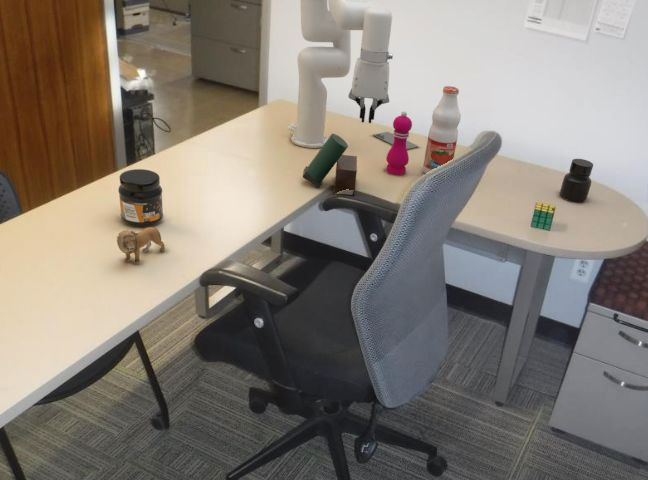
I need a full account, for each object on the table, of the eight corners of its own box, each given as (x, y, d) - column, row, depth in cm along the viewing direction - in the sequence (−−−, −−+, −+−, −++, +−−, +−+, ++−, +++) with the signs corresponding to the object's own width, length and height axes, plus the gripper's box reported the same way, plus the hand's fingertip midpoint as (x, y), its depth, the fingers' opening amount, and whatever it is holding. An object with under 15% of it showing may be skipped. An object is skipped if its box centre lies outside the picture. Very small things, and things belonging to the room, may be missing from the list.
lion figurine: (132, 273, 163) (129, 238, 158) (112, 266, 165) (109, 231, 160) (170, 248, 175) (169, 214, 170) (152, 242, 176) (150, 208, 172)
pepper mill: (407, 169, 238) (416, 109, 227) (405, 177, 232) (415, 116, 221) (385, 166, 238) (393, 106, 227) (383, 174, 232) (392, 113, 221)
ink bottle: (589, 197, 237) (600, 162, 230) (584, 205, 230) (595, 170, 223) (561, 189, 240) (570, 154, 233) (555, 197, 233) (564, 162, 226)
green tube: (301, 186, 216) (305, 135, 207) (303, 178, 221) (306, 128, 212) (343, 190, 217) (348, 140, 208) (344, 183, 222) (349, 133, 213)
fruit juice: (442, 166, 244) (457, 83, 229) (455, 177, 237) (471, 92, 221) (417, 168, 240) (431, 83, 225) (430, 179, 233) (444, 92, 218)
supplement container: (125, 231, 180) (122, 186, 173) (117, 212, 187) (113, 169, 180) (168, 226, 184) (166, 183, 178) (158, 209, 192) (156, 166, 185)
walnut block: (333, 194, 214) (336, 168, 210) (335, 178, 224) (337, 154, 220) (353, 196, 214) (356, 170, 210) (354, 180, 224) (356, 156, 220)
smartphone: (403, 149, 252) (372, 134, 261) (403, 151, 252) (372, 135, 261) (418, 146, 257) (387, 131, 266) (418, 147, 257) (387, 132, 266)
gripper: (401, 56, 202) (392, 120, 212) (345, 49, 201) (339, 114, 211) (402, 63, 196) (393, 128, 206) (345, 56, 194) (339, 122, 204)
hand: (366, 121), depth 208 cm, fingers closed
